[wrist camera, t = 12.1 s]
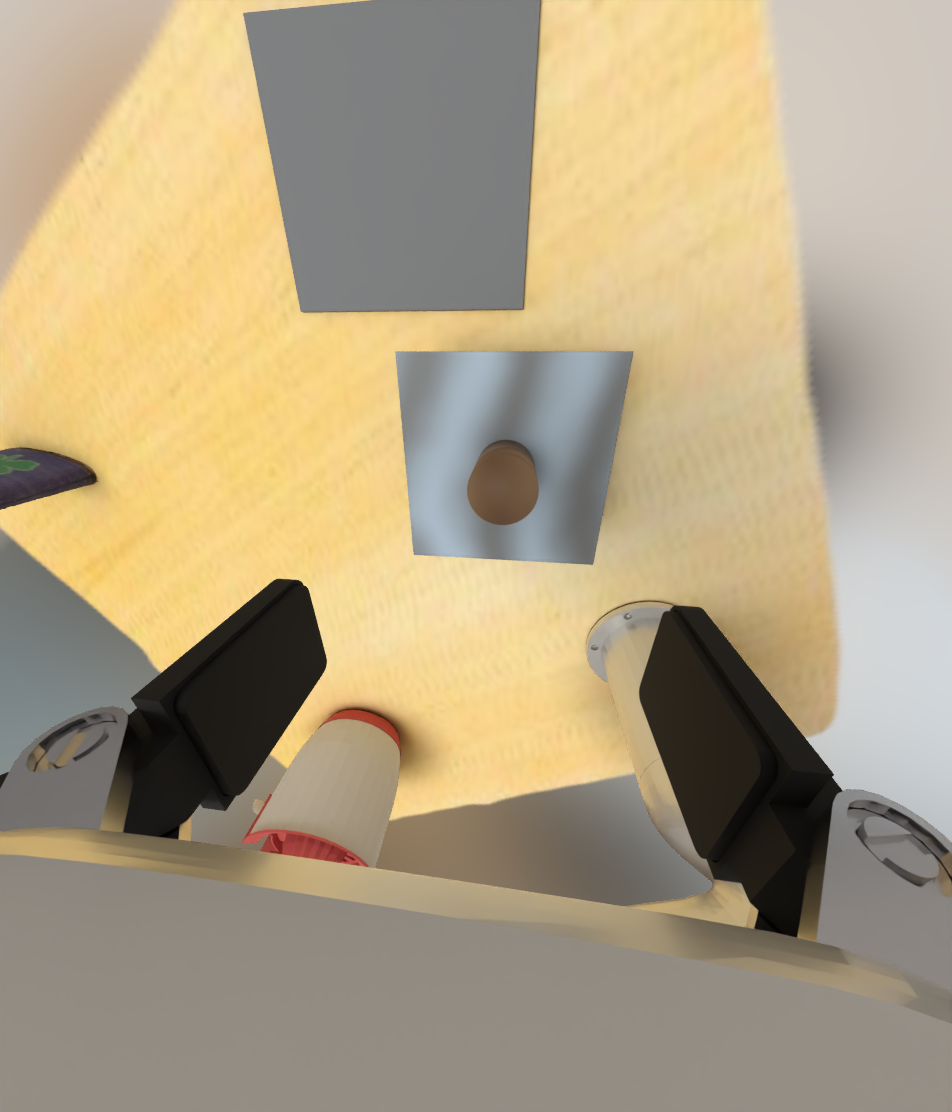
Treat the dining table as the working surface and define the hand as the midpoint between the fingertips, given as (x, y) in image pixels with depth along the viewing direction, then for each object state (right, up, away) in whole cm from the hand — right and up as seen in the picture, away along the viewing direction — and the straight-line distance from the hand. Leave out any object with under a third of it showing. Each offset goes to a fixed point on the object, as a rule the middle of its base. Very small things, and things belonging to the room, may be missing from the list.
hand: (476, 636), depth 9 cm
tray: (-5, +28, +15) cm, 32 cm away
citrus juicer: (-18, -25, +45) cm, 55 cm away
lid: (+2, +9, +15) cm, 18 cm away
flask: (-46, +12, +29) cm, 56 cm away
